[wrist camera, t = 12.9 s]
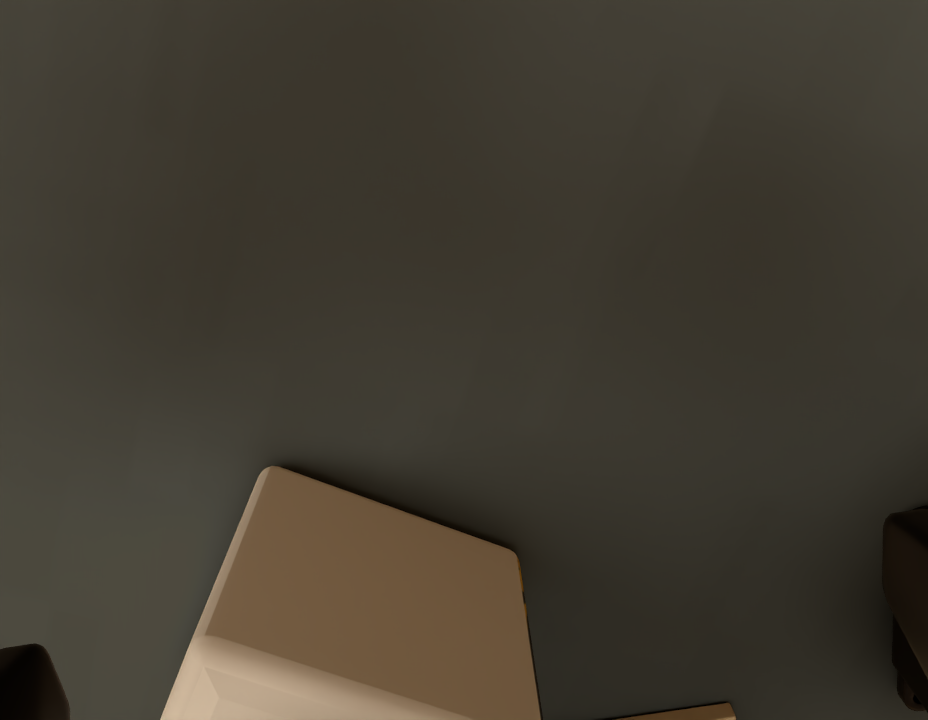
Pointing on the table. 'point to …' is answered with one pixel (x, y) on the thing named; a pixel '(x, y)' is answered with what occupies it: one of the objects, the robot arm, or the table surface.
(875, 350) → the table surface
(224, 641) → the medicine bottle
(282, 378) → the table surface
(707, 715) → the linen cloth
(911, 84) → the table surface
